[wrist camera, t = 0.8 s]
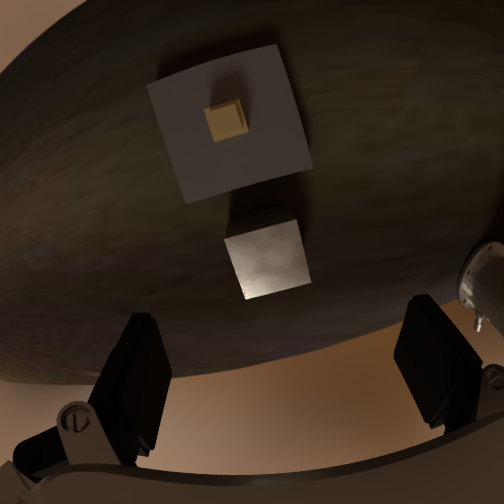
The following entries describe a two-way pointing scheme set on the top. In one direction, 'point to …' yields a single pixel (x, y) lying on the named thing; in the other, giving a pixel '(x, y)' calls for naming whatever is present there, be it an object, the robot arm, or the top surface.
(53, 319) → the top surface
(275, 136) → the grey block
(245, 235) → the grey cube
